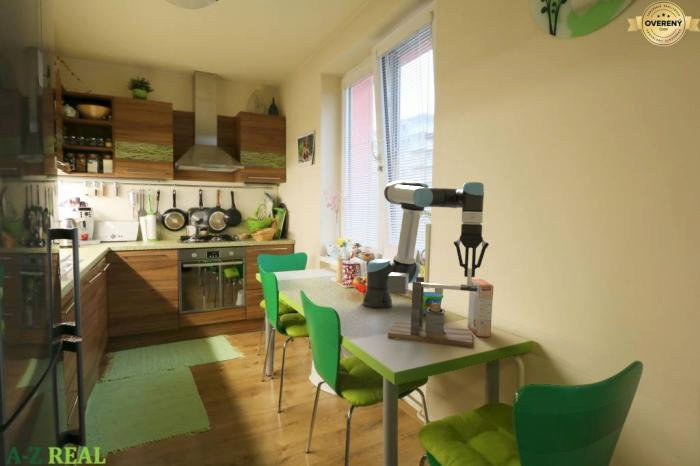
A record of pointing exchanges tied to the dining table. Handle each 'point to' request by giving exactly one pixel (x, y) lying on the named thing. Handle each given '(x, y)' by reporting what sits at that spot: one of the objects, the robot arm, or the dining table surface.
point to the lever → (400, 285)
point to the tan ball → (435, 307)
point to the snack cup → (431, 300)
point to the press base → (432, 338)
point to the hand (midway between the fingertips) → (469, 285)
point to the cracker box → (480, 308)
